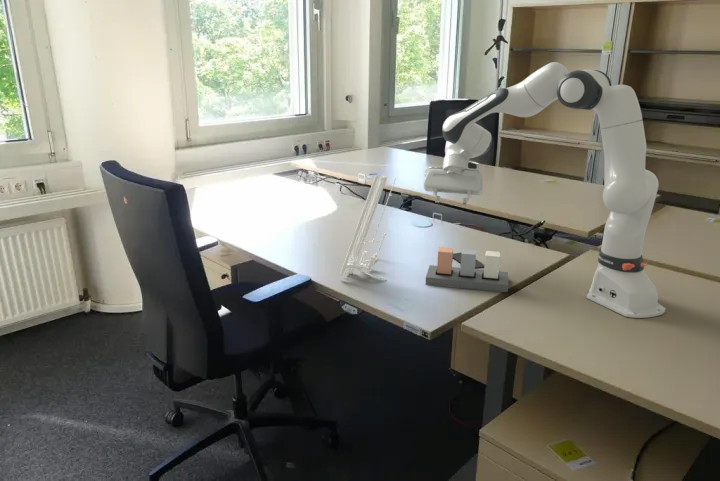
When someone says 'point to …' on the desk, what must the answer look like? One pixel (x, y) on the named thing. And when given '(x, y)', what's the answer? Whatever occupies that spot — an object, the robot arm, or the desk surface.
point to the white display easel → (365, 231)
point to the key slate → (468, 262)
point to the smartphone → (458, 258)
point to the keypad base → (467, 280)
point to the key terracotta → (445, 260)
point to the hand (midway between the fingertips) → (451, 202)
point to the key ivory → (491, 264)
